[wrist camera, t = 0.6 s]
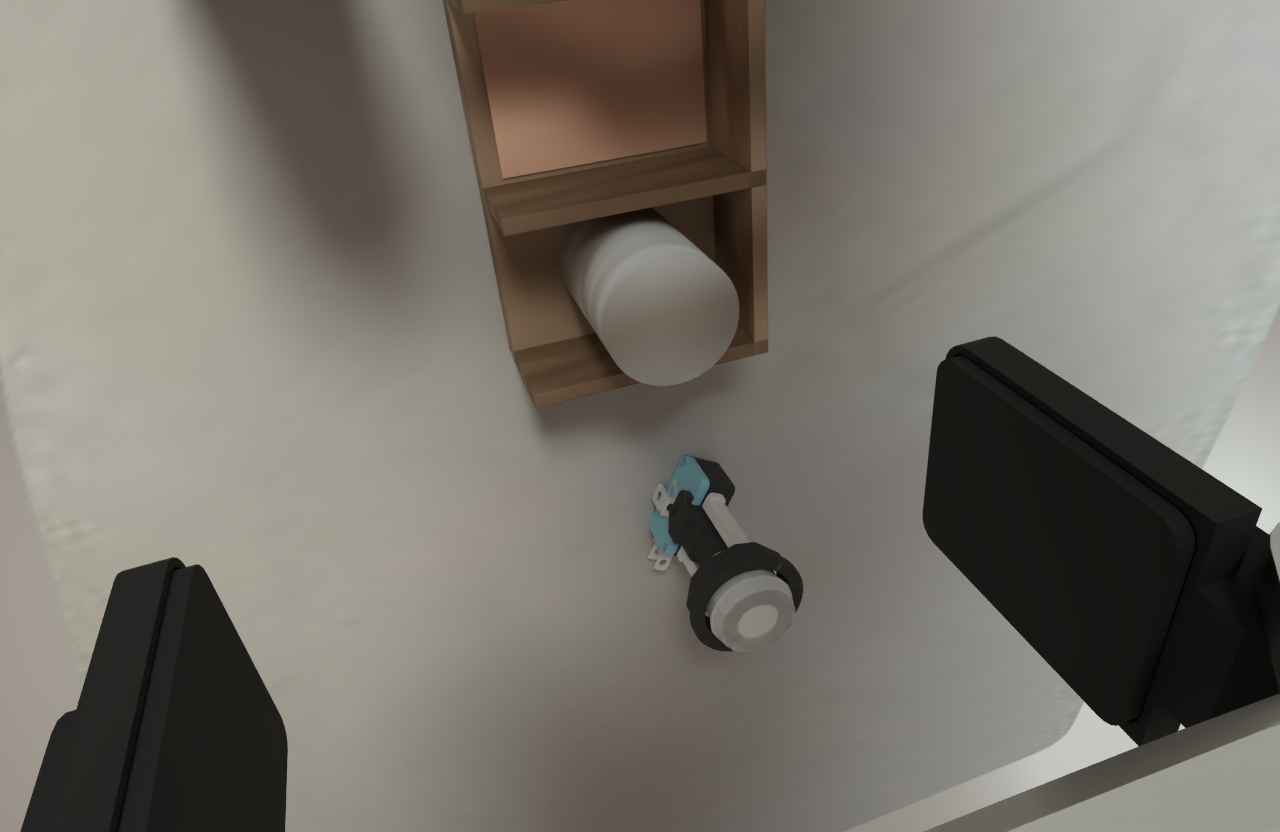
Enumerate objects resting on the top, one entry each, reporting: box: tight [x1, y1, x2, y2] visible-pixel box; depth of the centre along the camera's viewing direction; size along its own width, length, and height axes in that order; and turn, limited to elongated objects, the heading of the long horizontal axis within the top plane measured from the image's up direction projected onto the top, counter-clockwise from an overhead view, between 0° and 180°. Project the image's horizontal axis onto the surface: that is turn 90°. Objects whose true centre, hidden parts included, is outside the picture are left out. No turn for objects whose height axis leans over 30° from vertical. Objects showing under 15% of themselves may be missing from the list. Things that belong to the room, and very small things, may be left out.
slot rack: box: [443, 0, 768, 408], centre depth 30 cm, size 22×10×8 cm, turn 5°
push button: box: [648, 455, 803, 652], centre depth 42 cm, size 7×5×10 cm
